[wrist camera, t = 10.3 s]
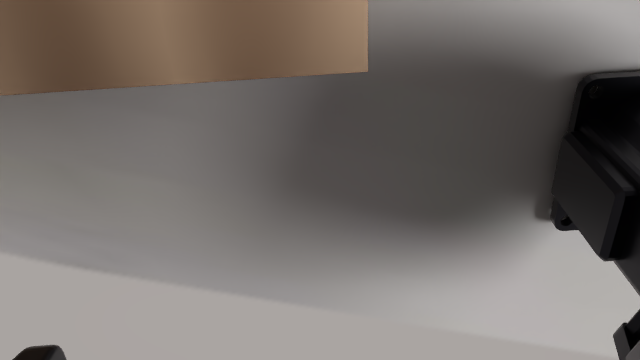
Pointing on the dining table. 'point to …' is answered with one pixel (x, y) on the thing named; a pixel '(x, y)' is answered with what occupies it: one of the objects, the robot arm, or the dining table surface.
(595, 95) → the robot arm
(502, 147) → the dining table surface
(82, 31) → the walnut socket block
